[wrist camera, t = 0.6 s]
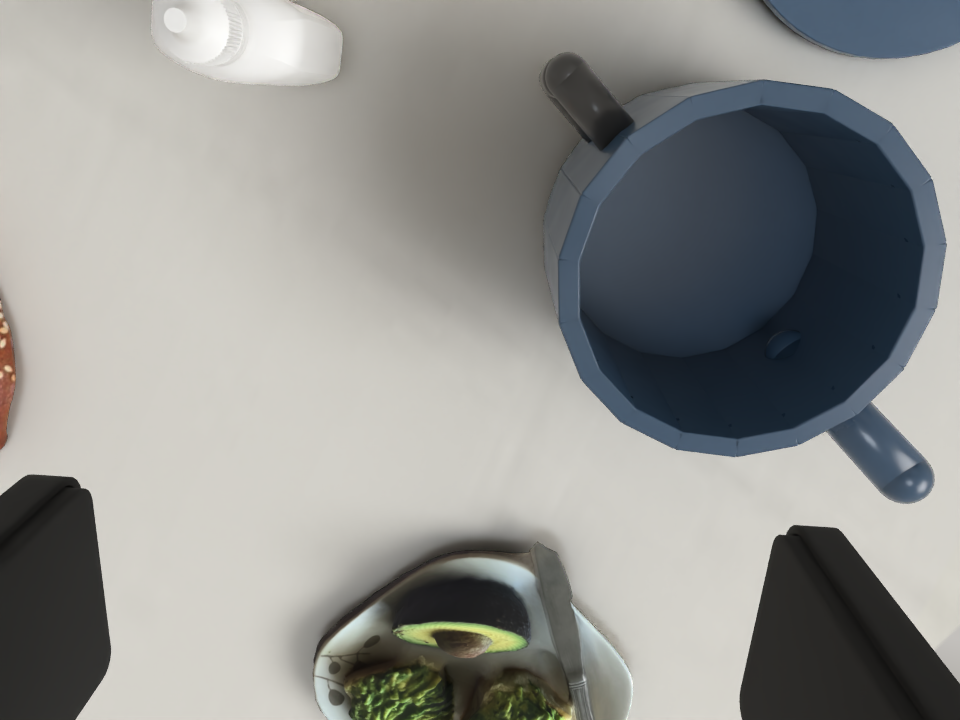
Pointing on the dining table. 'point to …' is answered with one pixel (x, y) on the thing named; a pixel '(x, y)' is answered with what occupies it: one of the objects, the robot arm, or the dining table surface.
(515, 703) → the salad plate
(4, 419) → the slice of bread
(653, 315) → the teapot
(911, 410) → the dining table surface
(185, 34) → the eye dropper bottle
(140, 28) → the dining table surface
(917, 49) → the teapot lid
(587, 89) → the teapot spout and handle
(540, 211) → the dining table surface
